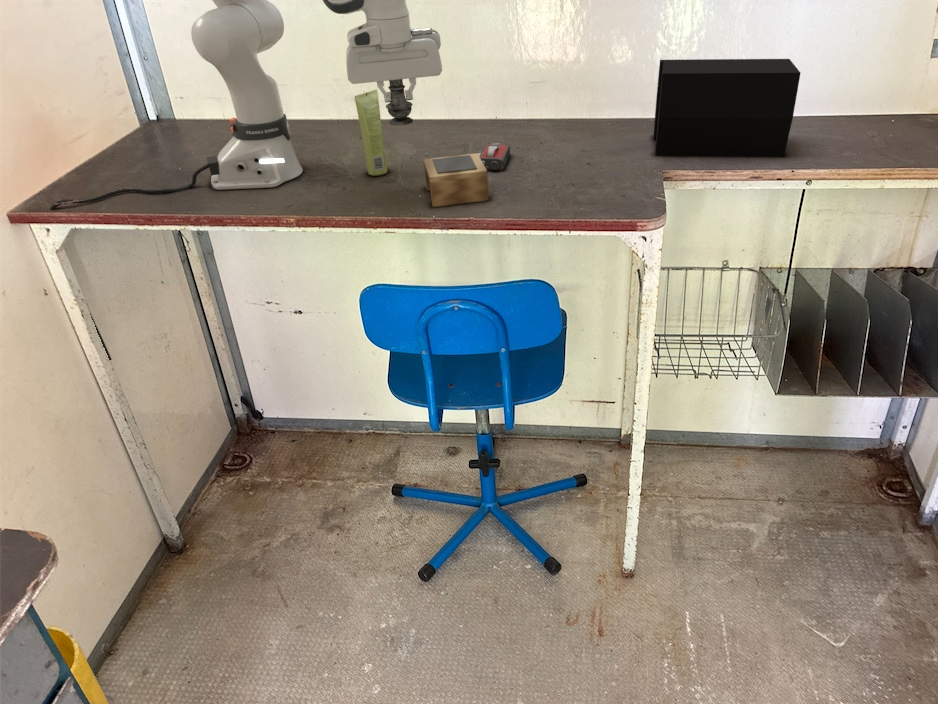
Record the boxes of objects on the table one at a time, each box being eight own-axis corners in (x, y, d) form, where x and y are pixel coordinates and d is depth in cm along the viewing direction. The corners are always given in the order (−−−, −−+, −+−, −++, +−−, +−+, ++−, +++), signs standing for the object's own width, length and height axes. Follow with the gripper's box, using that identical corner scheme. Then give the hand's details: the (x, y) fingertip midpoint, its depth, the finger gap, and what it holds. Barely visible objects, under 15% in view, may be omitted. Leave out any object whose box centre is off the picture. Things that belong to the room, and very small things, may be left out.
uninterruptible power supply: (653, 136, 195) (659, 58, 183) (779, 137, 191) (795, 57, 179) (655, 157, 182) (662, 74, 170) (791, 158, 178) (808, 74, 166)
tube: (368, 169, 182) (356, 89, 171) (388, 167, 183) (377, 88, 171) (367, 177, 178) (354, 96, 166) (387, 175, 178) (376, 94, 166)
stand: (432, 207, 161) (429, 175, 157) (426, 187, 171) (422, 157, 166) (488, 200, 163) (486, 169, 159) (479, 181, 173) (477, 151, 168)
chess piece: (409, 126, 155) (402, 67, 148) (384, 125, 156) (375, 67, 149) (417, 117, 160) (411, 60, 153) (393, 117, 161) (385, 60, 154)
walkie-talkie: (479, 153, 189) (462, 181, 173) (478, 136, 186) (461, 163, 171) (512, 154, 188) (497, 182, 172) (511, 137, 185) (497, 164, 169)
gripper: (437, 24, 151) (443, 92, 159) (340, 32, 148) (351, 101, 156) (441, 29, 146) (447, 99, 154) (340, 38, 143) (353, 109, 151)
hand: (398, 100), depth 155 cm, fingers closed on chess piece, 3 cm apart
